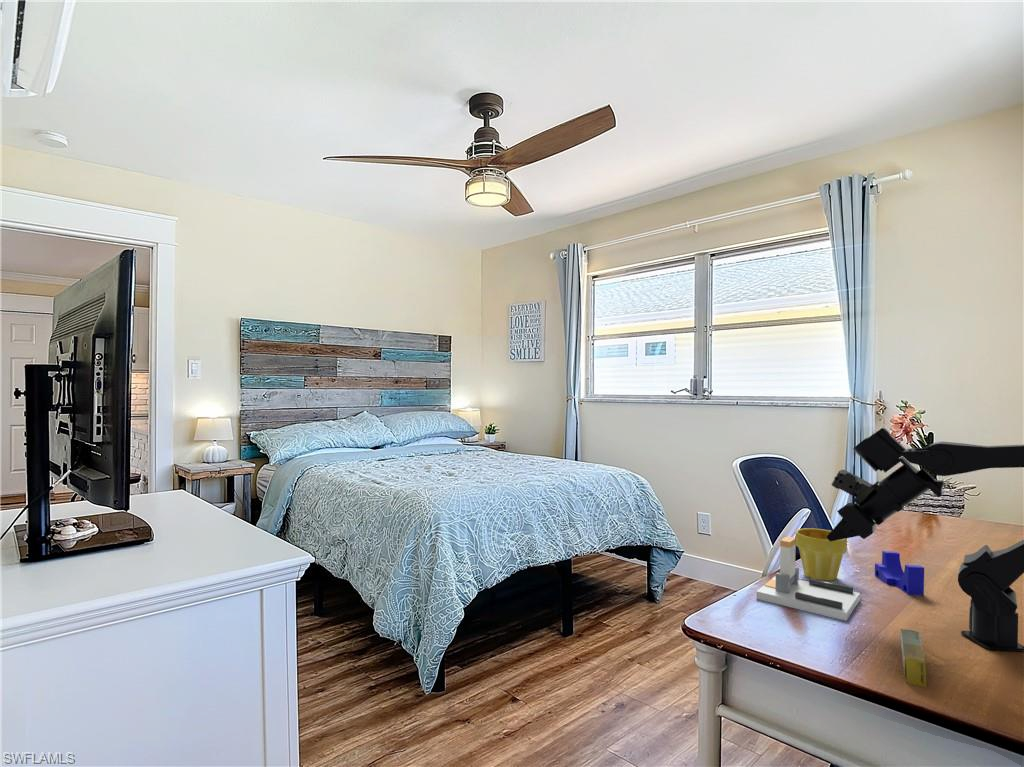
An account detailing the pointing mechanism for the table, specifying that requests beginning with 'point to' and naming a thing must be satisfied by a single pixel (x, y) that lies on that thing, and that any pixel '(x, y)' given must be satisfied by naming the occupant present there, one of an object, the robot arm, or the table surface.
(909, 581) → the cable clip
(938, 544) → the table surface
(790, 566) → the lever
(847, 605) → the white base plate
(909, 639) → the medication box
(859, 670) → the table surface
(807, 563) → the plant pot
